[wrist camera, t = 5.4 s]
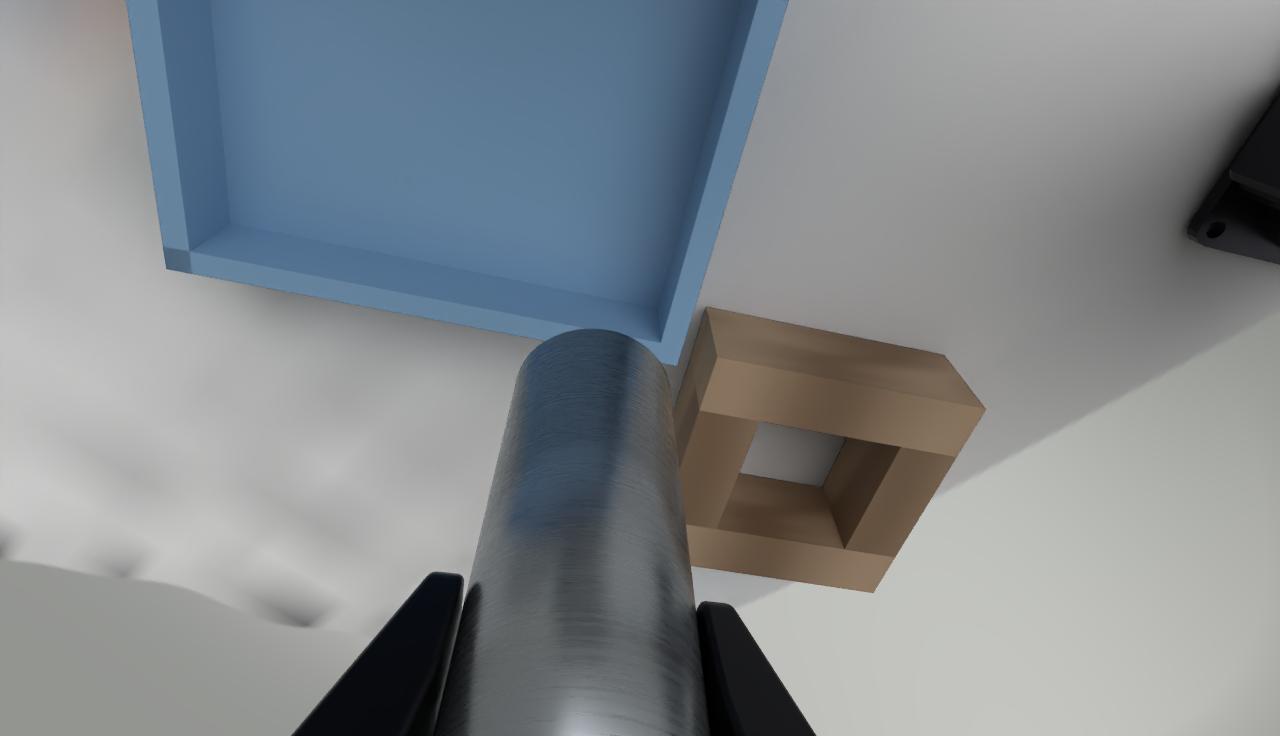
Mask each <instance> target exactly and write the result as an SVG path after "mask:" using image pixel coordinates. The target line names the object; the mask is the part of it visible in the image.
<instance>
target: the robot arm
mask: <svg viewBox="0 0 1280 736" xmlns="http://www.w3.org/2000/svg"><path fill="white" fill-rule="evenodd" d="M1215 222H1216V223H1215ZM1213 223H1215V225H1214V227H1213V228H1212V229H1211V230H1210V231H1208V232H1207V230H1208V228H1209V227H1210V226H1211V225H1212V224H1213ZM1187 234H1188V236H1189V238H1190V239H1192V240H1194V241H1195V242H1197V243H1199V244H1201V245H1203V246H1206V247H1210V248H1214V249H1218V250H1222V251H1227V252H1231V253H1235V254H1239V255H1243V256H1247V257H1252V258H1256V259H1260V260H1264V261H1268V262H1273V263H1277V264H1280V92H1279V93H1278V95H1277V96H1276V98H1275V99H1274V101H1273V102H1272V104H1271V105H1270V107H1269V108H1268V109H1267V111H1266V112H1265V114H1264V115H1263V117H1262V118H1261V120H1260V121H1259V123H1258V124H1257V125H1256V127H1255V128H1254V130H1253V131H1252V133H1251V134H1250V136H1249V137H1248V139H1247V140H1246V141H1245V143H1244V144H1243V146H1242V147H1241V149H1240V150H1239V152H1238V153H1237V155H1236V156H1235V157H1234V159H1233V160H1232V162H1231V163H1230V165H1229V166H1228V168H1227V169H1226V171H1225V172H1224V174H1223V175H1222V176H1221V178H1220V179H1219V181H1218V182H1217V184H1216V185H1215V187H1214V188H1213V190H1212V191H1211V192H1210V194H1209V195H1208V197H1207V198H1206V200H1205V201H1204V203H1203V204H1202V206H1201V207H1200V208H1199V210H1198V211H1197V213H1196V214H1195V216H1194V217H1193V219H1192V220H1191V222H1190V224H1189V226H1188V229H1187ZM463 587H464V579H463V576H461V575H460V574H454V573H445V572H432V573H430V574H429V575H428V576H427V577H426V578H425V579H424V580H423V581H422V582H421V584H420V585H419V586H418V587H417V588H416V590H415V591H414V592H413V593H412V594H411V595H410V597H409V598H408V599H407V600H406V601H405V602H404V604H403V605H402V606H401V607H400V608H399V609H398V611H397V612H396V613H395V614H394V615H393V617H392V618H391V619H390V620H389V621H388V622H387V624H386V625H385V626H384V627H383V628H382V629H381V631H380V632H379V633H378V634H377V635H376V637H375V638H374V639H373V640H372V641H371V642H370V644H369V645H368V646H367V647H366V648H365V649H364V651H363V652H362V653H361V654H360V655H359V656H358V658H357V659H356V660H355V661H354V662H353V664H352V665H351V666H350V667H349V668H348V669H347V671H346V672H345V673H344V674H343V675H342V676H341V678H340V679H339V680H338V681H337V682H336V684H335V685H334V686H333V687H332V688H331V689H330V691H329V692H328V693H327V694H326V695H325V696H324V698H323V699H322V700H321V701H320V702H319V704H318V705H317V706H316V707H315V708H314V709H313V710H312V712H311V713H310V714H309V715H308V717H307V718H306V719H305V720H304V721H303V722H302V723H301V725H300V726H299V727H298V728H297V729H296V731H295V732H294V733H293V734H292V735H291V736H433V733H434V729H435V724H436V720H437V716H438V712H439V707H440V703H441V699H442V695H443V690H444V686H445V682H446V678H447V673H448V669H449V665H450V661H451V656H452V652H453V648H454V644H455V639H456V635H457V631H458V627H459V622H460V618H461V610H462V599H463ZM696 615H697V624H698V632H699V641H700V650H701V658H702V667H703V675H704V684H705V692H706V701H707V709H708V718H709V727H710V735H711V736H816V734H815V733H814V731H813V730H812V728H811V727H810V725H809V724H808V722H807V721H806V719H805V717H804V716H803V714H802V713H801V711H800V710H799V708H798V706H797V705H796V703H795V702H794V700H793V699H792V697H791V696H790V694H789V693H788V691H787V689H786V688H785V686H784V685H783V683H782V682H781V680H780V679H779V677H778V676H777V674H776V673H775V671H774V669H773V668H772V666H771V665H770V663H769V662H768V660H767V659H766V657H765V655H764V654H763V652H762V651H761V649H760V648H759V646H758V645H757V643H756V642H755V640H754V638H753V637H752V635H751V634H750V632H749V631H748V629H747V628H746V626H745V624H744V623H743V621H742V620H741V618H740V617H739V615H738V614H737V612H736V611H735V609H734V608H733V607H732V606H731V605H729V604H726V603H717V602H708V601H704V602H702V603H701V604H700V605H699V606H698V608H697V611H696Z"/></svg>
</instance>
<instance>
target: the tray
mask: <svg viewBox="0 0 1280 736" xmlns="http://www.w3.org/2000/svg"><path fill="white" fill-rule="evenodd" d="M788 1H789V0H126V3H127V10H128V17H129V23H130V30H131V37H132V43H133V50H134V57H135V63H136V70H137V77H138V83H139V90H140V97H141V103H142V110H143V117H144V123H145V130H146V137H147V143H148V150H149V157H150V163H151V170H152V176H153V183H154V190H155V196H156V203H157V210H158V216H159V223H160V230H161V236H162V243H163V250H164V256H165V263H166V269H169V270H174V271H180V272H185V273H190V274H195V275H201V276H206V277H211V278H216V279H222V280H227V281H232V282H238V283H243V284H248V285H253V286H259V287H264V288H269V289H274V290H280V291H285V292H290V293H296V294H301V295H306V296H311V297H317V298H322V299H327V300H332V301H338V302H343V303H348V304H354V305H359V306H364V307H369V308H375V309H380V310H385V311H390V312H396V313H401V314H406V315H412V316H417V317H422V318H427V319H433V320H438V321H443V322H448V323H454V324H459V325H464V326H470V327H475V328H480V329H485V330H491V331H496V332H501V333H506V334H512V335H517V336H522V337H527V338H533V339H538V340H543V341H546V340H548V339H550V338H552V337H554V336H556V335H559V334H561V333H564V332H568V331H572V330H578V329H593V328H596V329H606V330H611V331H615V332H619V333H621V334H624V335H627V336H629V337H631V338H633V339H635V340H637V341H638V342H640V343H641V344H643V345H644V346H646V347H647V348H648V349H649V350H650V351H652V353H653V354H654V355H655V356H656V357H657V358H658V360H659V361H660V363H665V364H670V365H675V366H677V364H678V361H679V357H680V354H681V351H682V348H683V344H684V341H685V338H686V335H687V331H688V328H689V325H690V321H691V318H692V315H693V312H694V308H695V305H696V302H697V299H698V295H699V292H700V289H701V285H702V282H703V279H704V276H705V272H706V269H707V266H708V263H709V259H710V256H711V253H712V249H713V246H714V243H715V240H716V236H717V233H718V230H719V227H720V223H721V220H722V217H723V213H724V210H725V207H726V204H727V200H728V197H729V194H730V191H731V187H732V184H733V181H734V177H735V174H736V171H737V168H738V164H739V161H740V158H741V155H742V151H743V148H744V145H745V141H746V138H747V135H748V132H749V128H750V125H751V122H752V119H753V115H754V112H755V109H756V105H757V102H758V99H759V96H760V92H761V89H762V86H763V83H764V79H765V76H766V73H767V69H768V66H769V63H770V60H771V56H772V53H773V50H774V47H775V43H776V40H777V37H778V33H779V30H780V27H781V24H782V20H783V17H784V14H785V11H786V7H787V4H788Z"/></svg>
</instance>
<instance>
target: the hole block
mask: <svg viewBox="0 0 1280 736" xmlns="http://www.w3.org/2000/svg"><path fill="white" fill-rule="evenodd" d="M985 410H986V408H985V407H984V406H983V404H982V403H981V402H980V401H979V399H978V398H977V397H976V395H975V394H974V393H973V392H972V390H971V389H970V388H969V386H968V385H967V384H966V382H965V381H964V380H963V379H962V377H961V376H960V375H959V373H958V372H957V371H956V370H955V368H954V367H953V366H952V364H951V363H950V362H949V360H948V359H947V358H946V357H945V355H941V354H936V353H931V352H927V351H922V350H917V349H912V348H907V347H902V346H897V345H892V344H887V343H882V342H877V341H872V340H867V339H862V338H858V337H853V336H848V335H843V334H838V333H833V332H828V331H823V330H818V329H813V328H808V327H803V326H798V325H793V324H789V323H784V322H779V321H774V320H769V319H764V318H759V317H754V316H749V315H744V314H739V313H734V312H729V311H724V310H720V309H715V308H710V307H706V310H705V313H704V316H703V319H702V323H701V326H700V329H699V332H698V335H697V338H696V342H695V345H694V348H693V351H692V354H691V357H690V361H689V364H688V367H687V370H686V373H685V376H684V380H683V383H682V386H681V389H680V392H679V395H678V399H677V402H676V405H675V408H674V411H673V419H674V427H675V436H676V444H677V453H678V461H679V470H680V478H681V487H682V496H683V504H684V513H685V521H686V530H687V538H688V547H689V555H690V564H691V566H696V567H703V568H710V569H716V570H723V571H730V572H736V573H743V574H750V575H756V576H763V577H770V578H776V579H783V580H790V581H796V582H803V583H810V584H817V585H824V586H831V587H837V588H844V589H850V590H857V591H864V592H870V593H874V591H875V589H876V588H877V586H878V584H879V583H880V581H881V579H882V578H883V576H884V575H885V573H886V571H887V570H888V568H889V566H890V565H891V563H892V562H893V560H894V558H895V557H896V555H897V553H898V552H899V550H900V549H901V547H902V545H903V544H904V542H905V540H906V539H907V537H908V535H909V534H910V532H911V531H912V529H913V527H914V526H915V524H916V523H917V521H918V519H919V517H920V516H921V514H922V513H923V511H924V510H925V508H926V506H927V505H928V503H929V501H930V500H931V498H932V496H933V495H934V493H935V492H936V490H937V488H938V487H939V485H940V483H941V482H942V480H943V479H944V477H945V475H946V474H947V472H948V470H949V469H950V467H951V466H952V464H953V462H954V461H955V459H956V457H957V456H958V454H959V453H960V451H961V449H962V448H963V446H964V444H965V443H966V441H967V439H968V438H969V436H970V435H971V433H972V431H973V430H974V428H975V426H976V425H977V423H978V422H979V420H980V418H981V417H982V415H983V413H984V412H985ZM760 421H761V422H766V423H772V424H777V425H783V426H788V427H794V428H799V429H805V430H811V431H816V432H822V433H827V434H833V435H838V436H844V437H847V438H846V440H845V442H844V444H843V447H842V449H841V451H840V453H839V455H838V457H837V459H836V461H835V463H834V465H833V467H832V469H831V471H830V473H829V475H828V477H827V479H826V481H825V483H824V485H823V487H816V486H810V485H805V484H799V483H793V482H787V481H781V480H775V479H769V478H763V477H758V476H752V475H746V474H740V473H739V472H740V469H741V467H742V464H743V462H744V459H745V457H746V454H747V452H748V449H749V447H750V444H751V442H752V439H753V437H754V434H755V432H756V429H757V427H758V424H759V422H760Z"/></svg>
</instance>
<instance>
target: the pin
mask: <svg viewBox="0 0 1280 736" xmlns="http://www.w3.org/2000/svg"><path fill="white" fill-rule="evenodd" d="M433 736H711V735H710V727H709V718H708V709H707V701H706V692H705V684H704V675H703V667H702V658H701V650H700V641H699V632H698V624H697V615H696V607H695V598H694V590H693V581H692V573H691V564H690V555H689V547H688V538H687V530H686V521H685V513H684V504H683V496H682V487H681V478H680V470H679V461H678V453H677V444H676V436H675V427H674V419H673V410H672V401H671V393H670V385H669V380H668V377H667V374H666V372H665V370H664V367H663V366H662V364H661V363H660V361H659V360H658V358H657V357H656V356H655V355H654V354H653V353H652V351H650V350H649V349H648V348H647V347H646V346H644V345H643V344H641V343H640V342H638V341H637V340H635V339H633V338H631V337H629V336H627V335H624V334H621V333H619V332H615V331H611V330H606V329H596V328H593V329H578V330H572V331H568V332H564V333H561V334H559V335H556V336H554V337H552V338H550V339H548V340H546V341H545V342H543V343H542V344H541V345H539V346H538V347H537V348H536V349H535V350H533V351H532V352H531V353H530V355H529V356H528V357H527V358H526V360H525V361H524V363H523V365H522V366H521V368H520V371H519V373H518V376H517V380H516V384H515V389H514V393H513V397H512V401H511V406H510V410H509V414H508V418H507V423H506V427H505V431H504V435H503V440H502V444H501V448H500V452H499V457H498V461H497V465H496V469H495V474H494V478H493V482H492V486H491V491H490V495H489V499H488V503H487V508H486V512H485V516H484V520H483V525H482V529H481V533H480V537H479V542H478V546H477V550H476V554H475V559H474V563H473V567H472V571H471V576H470V580H469V584H468V588H467V593H466V597H465V601H464V605H463V610H462V614H461V618H460V622H459V627H458V631H457V635H456V639H455V644H454V648H453V652H452V656H451V661H450V665H449V669H448V673H447V678H446V682H445V686H444V690H443V695H442V699H441V703H440V707H439V712H438V716H437V720H436V724H435V729H434V733H433Z"/></svg>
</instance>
